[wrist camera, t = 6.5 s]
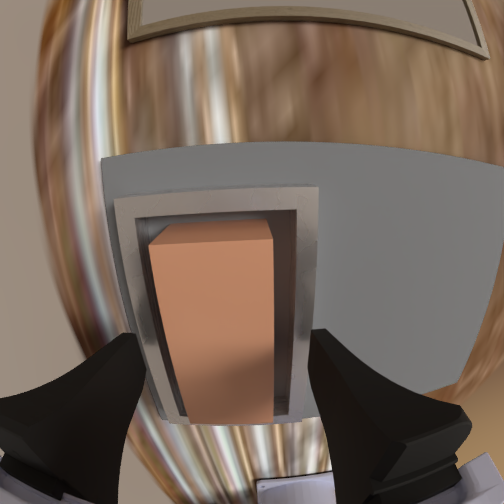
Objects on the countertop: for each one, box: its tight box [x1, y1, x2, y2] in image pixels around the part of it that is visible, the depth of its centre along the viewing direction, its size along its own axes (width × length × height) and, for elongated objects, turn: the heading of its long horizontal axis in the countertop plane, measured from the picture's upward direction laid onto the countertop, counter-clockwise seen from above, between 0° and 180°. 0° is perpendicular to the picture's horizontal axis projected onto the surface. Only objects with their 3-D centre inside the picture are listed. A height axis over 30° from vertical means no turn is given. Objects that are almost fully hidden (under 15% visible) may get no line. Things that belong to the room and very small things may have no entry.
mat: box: [101, 142, 504, 420], centre depth 14 cm, size 16×22×1 cm
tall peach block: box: [148, 219, 274, 424], centre depth 12 cm, size 4×9×3 cm, turn 2°
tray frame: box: [114, 183, 319, 426], centre depth 13 cm, size 13×8×2 cm, turn 2°
